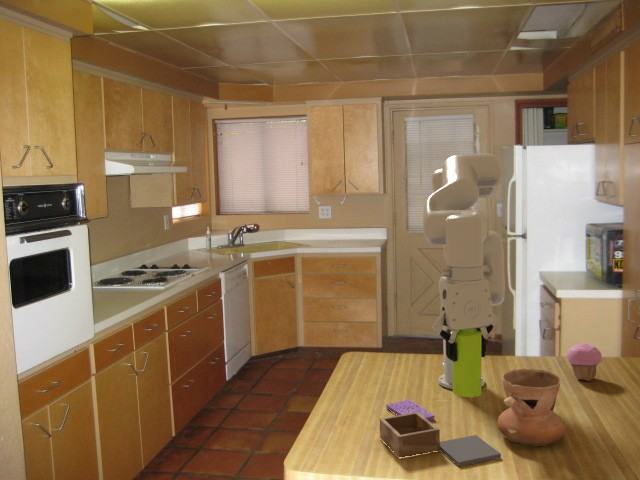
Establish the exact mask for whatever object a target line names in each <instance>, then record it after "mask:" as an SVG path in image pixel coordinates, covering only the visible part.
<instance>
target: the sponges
mask: <svg viewBox="0 0 640 480" xmlns="http://www.w3.org/2000/svg"><path fill="white" fill-rule="evenodd" d="M385 406H386V407H387V408H388V409H390V410H391V411H392V412H394V413H395V414H397V415H403V414H409V413H415V412H419V413H420V414H421V415H422V416H424V417H425V418H426V419H427V420H429V421H430V422H432V421H431V420H434V421H435V418H436V415H435V414H433V413H432V412H430V411H428V410H427V409H425V408H424V407H423V406H421V405H420V404H418V403H416V402H414V401H413V400H411V399H410V398H407V399H404V400H400V401H396V402H392V403H387V404H386V405H385ZM386 407H385V408H386ZM388 409H387V410H388ZM391 411H390V412H391ZM392 412H391V413H392ZM395 414H394V415H395Z"/></svg>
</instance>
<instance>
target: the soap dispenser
mask: <svg viewBox="0 0 640 480" xmlns="http://www.w3.org/2000/svg"><path fill="white" fill-rule="evenodd" d="M481 340H482V333H481V332H480V331H478V330H475V329H468V330H460V331H458V332H457V335H456V338H455V341H454V342H455V343H457V361H455V362H453V389H452V393H453V394H454V395H456V396H458V397H460V398H462V397H463V398H475V397H479V396H481V394H482V387H481V376H482V357H481Z"/></svg>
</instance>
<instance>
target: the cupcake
mask: <svg viewBox="0 0 640 480" xmlns="http://www.w3.org/2000/svg"><path fill="white" fill-rule="evenodd" d="M566 358H567V361H568V362H569V363H570V366H571V369H572V372H573V375H574V377H575V379H577V380H582V381H583V380H584V381H587V382H588V381H589V382H590V381H592V380H593V379H594V378H595V377H596V374H597V366H598V365H600V363H602V360H603V359H602V351H600V349H598V348H597V347H596V346H595V345H594V344H592V343H577V344H574V345H572V346H571V347H569V349H568V350H567V353H566Z"/></svg>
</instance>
